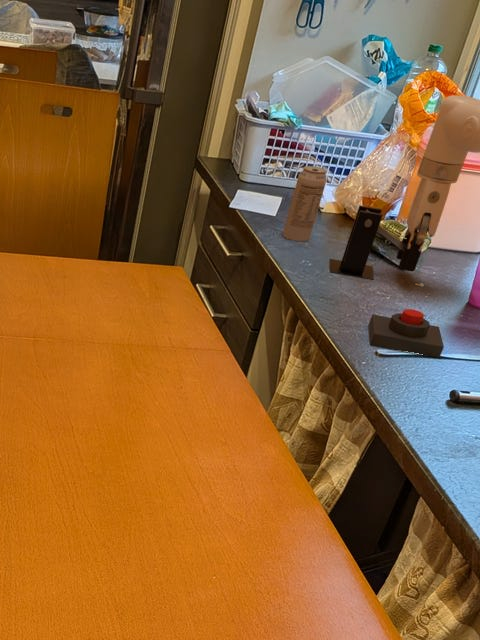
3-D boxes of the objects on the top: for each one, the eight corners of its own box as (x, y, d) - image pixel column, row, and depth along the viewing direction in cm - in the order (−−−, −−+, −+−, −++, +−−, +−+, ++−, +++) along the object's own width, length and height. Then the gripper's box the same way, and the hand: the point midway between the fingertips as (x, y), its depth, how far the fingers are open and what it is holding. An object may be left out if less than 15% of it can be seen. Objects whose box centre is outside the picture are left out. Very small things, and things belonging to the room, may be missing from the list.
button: (419, 320, 167) (423, 311, 166) (421, 327, 164) (425, 318, 163) (399, 317, 167) (402, 307, 166) (400, 324, 165) (404, 314, 163)
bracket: (370, 271, 197) (392, 208, 189) (372, 285, 191) (394, 220, 182) (328, 264, 199) (347, 200, 190) (327, 277, 192) (348, 212, 184)
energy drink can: (307, 239, 211) (328, 168, 201) (308, 247, 207) (329, 174, 197) (281, 235, 212) (300, 163, 202) (281, 243, 207) (301, 170, 198)
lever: (406, 254, 192) (415, 244, 190) (407, 262, 188) (416, 251, 187) (357, 217, 190) (366, 206, 189) (358, 223, 186) (367, 213, 185)
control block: (434, 338, 171) (443, 316, 168) (439, 358, 163) (448, 336, 161) (368, 325, 173) (375, 304, 170) (369, 345, 165) (377, 323, 162)
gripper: (464, 183, 172) (426, 281, 184) (455, 163, 185) (420, 255, 197) (423, 177, 173) (388, 274, 185) (416, 157, 186) (384, 249, 198)
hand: (405, 263), depth 191 cm, fingers open, 6 cm apart
